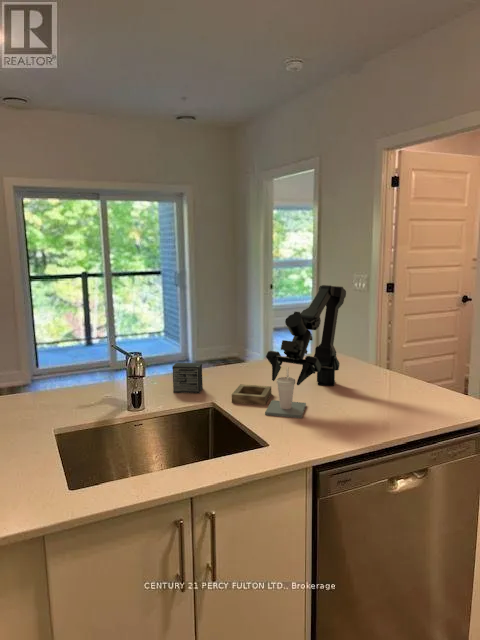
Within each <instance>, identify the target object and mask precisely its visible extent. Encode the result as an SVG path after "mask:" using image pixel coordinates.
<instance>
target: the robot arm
mask: <svg viewBox="0 0 480 640" xmlns="http://www.w3.org/2000/svg"><path fill="white" fill-rule="evenodd" d="M346 295H347V291H346V289H344V287H343V286H337V285H335V286H334V285H331V284H330V285H328V284H327V285H326V284H322V285H319V288H318V292H317V293H316V294H315V296H314V298H313V299H312V301H311V303H310V304H309V306H308V307H307V308H305V309H303V310H302V311H294V312H293V313H292V314H290V315H288V316H287V317H286V319H285V326H286V327H287V329H288V331H289V333H290V334H291V336H293V338H292V340H287V339H286V340H284V339H283V340H281V344H280V351H283V354H284V355H285V356H283V355H281V354H280V352H279V351H276V350H275V351H274V350H269V351H267V352H266V355H265V358H266V359H267V360H268V362H269V364H270V365H271V368H272V369H271V380H272V381H273V382H275V381H276V380H277V378H278V375H279V373H280V371H281V368H282V364H283V363H288V364H295V365H300V366H302V368H301V371H300V373H299V376H298V377H297V381H296V385H297V386H300V385H301V384H302V383H303V382H304V381H305V380H306V379H307V378H309V377H310V376H312V375H314V374H316V382H317V385H318V386H329V387H330V386H332V387H334V386H335V385H336V384H335V383H336V371H339V369H340V361H339V359H338V357H337V349H336V348H335V346H334V342H335V335H336V329H337V323H338V321H337V320H338V317H339V316H338V314H339V309H340V308H341V307H342V306H343V304H344V302H345V299H346V297H347V296H346ZM325 307H326V308H325ZM324 309H325V314H324V319H323V320H324V321H323V328H322V334H321V335H322V336H321V343H320V344H319V345H317V346H316V347H315V349H314V355H313V356H311V355H307V354H308V346H309V344H310V342H311V341H313V340H314V339H313V335H312V333H311V331H317V329H318V328H319V327H320V325H321V314H322V313H323V310H324ZM310 330H311V331H310ZM305 355H306V356H305Z"/></svg>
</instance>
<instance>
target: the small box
mask: <svg viewBox="0 0 480 640" xmlns="http://www.w3.org/2000/svg"><path fill="white" fill-rule="evenodd" d="M172 384H173V385H172V387H173V389H172V393H173V394H201V393H202V390H203V388H204V387H203V385H204V384H203V363H202V362H175V363H174V365H172Z"/></svg>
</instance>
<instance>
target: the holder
mask: <svg viewBox="0 0 480 640" xmlns="http://www.w3.org/2000/svg"><path fill="white" fill-rule="evenodd" d="M271 396H272V386H269V385H268V386H267V385H256V384H239V385H238V386H237V387H236V389H235V390H234V391H233V392H232V394H231V403H232V404H247V405H255V406H256V405H259V406H265V405H266V404H267V402H268V401H269V399H270V397H271Z"/></svg>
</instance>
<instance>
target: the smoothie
mask: <svg viewBox="0 0 480 640" xmlns="http://www.w3.org/2000/svg"><path fill="white" fill-rule="evenodd" d="M276 384H277V391H278V398H279V399H278V401H280V407H281V408H282V409H290V408H291V406H292V402H293V398H294V396H293V395H294V390H295V384H296V379H295V378H294V377H289V367H288V366H287V367H286V376H281V377H277V378H276Z"/></svg>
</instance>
